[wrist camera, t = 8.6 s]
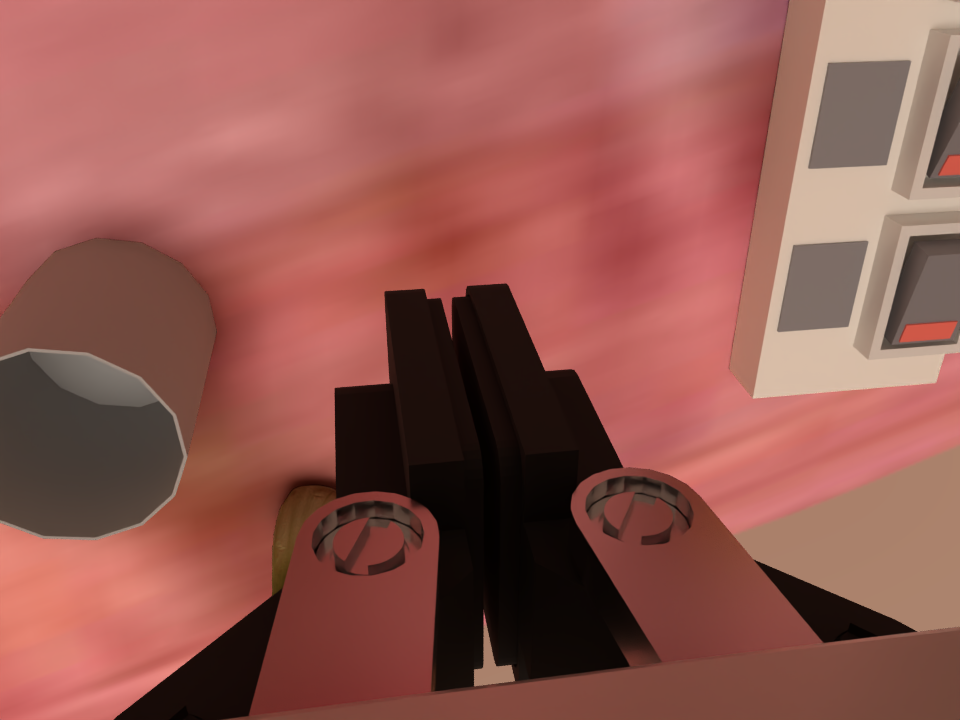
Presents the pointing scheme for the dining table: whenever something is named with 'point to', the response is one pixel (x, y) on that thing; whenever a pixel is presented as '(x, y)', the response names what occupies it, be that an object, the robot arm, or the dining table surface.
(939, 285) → the rocker
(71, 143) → the dining table surface
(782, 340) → the power strip
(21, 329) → the cup
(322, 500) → the fennel bulb
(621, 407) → the dining table surface
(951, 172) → the rocker middle
